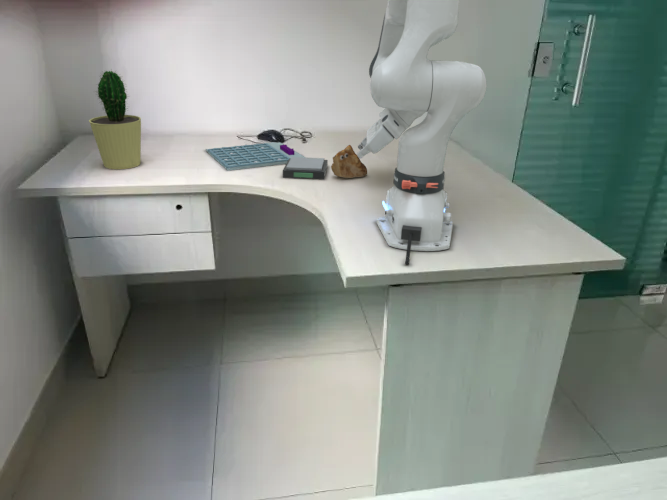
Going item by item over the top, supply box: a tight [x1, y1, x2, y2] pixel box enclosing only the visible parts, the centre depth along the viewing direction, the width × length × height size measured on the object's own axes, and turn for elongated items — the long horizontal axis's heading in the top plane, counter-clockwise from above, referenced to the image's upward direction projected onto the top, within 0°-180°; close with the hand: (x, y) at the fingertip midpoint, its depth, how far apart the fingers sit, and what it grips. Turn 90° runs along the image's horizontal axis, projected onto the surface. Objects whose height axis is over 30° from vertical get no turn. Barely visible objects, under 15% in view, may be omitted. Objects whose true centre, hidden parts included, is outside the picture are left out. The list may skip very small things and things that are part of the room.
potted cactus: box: [88, 68, 142, 170], centre depth 166 cm, size 15×15×30 cm
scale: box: [282, 156, 329, 180], centre depth 169 cm, size 14×13×3 cm
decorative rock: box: [330, 144, 368, 179], centre depth 163 cm, size 12×6×11 cm, turn 118°
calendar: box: [205, 141, 305, 171], centre depth 185 cm, size 27×29×2 cm
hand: (358, 152), depth 162 cm, fingers open, 8 cm apart
